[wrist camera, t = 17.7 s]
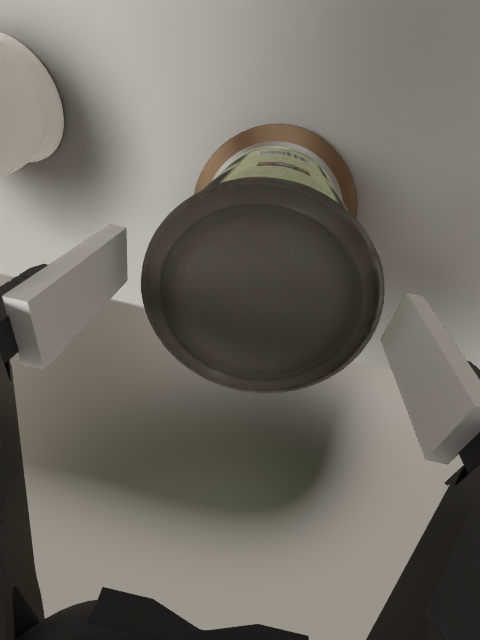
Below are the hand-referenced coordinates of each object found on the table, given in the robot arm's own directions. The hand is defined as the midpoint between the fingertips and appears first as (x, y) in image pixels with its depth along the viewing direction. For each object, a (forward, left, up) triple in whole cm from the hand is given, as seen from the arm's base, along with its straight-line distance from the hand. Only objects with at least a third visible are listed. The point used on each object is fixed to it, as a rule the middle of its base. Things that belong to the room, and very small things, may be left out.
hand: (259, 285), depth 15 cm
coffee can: (0, 0, -13) cm, 12 cm away
